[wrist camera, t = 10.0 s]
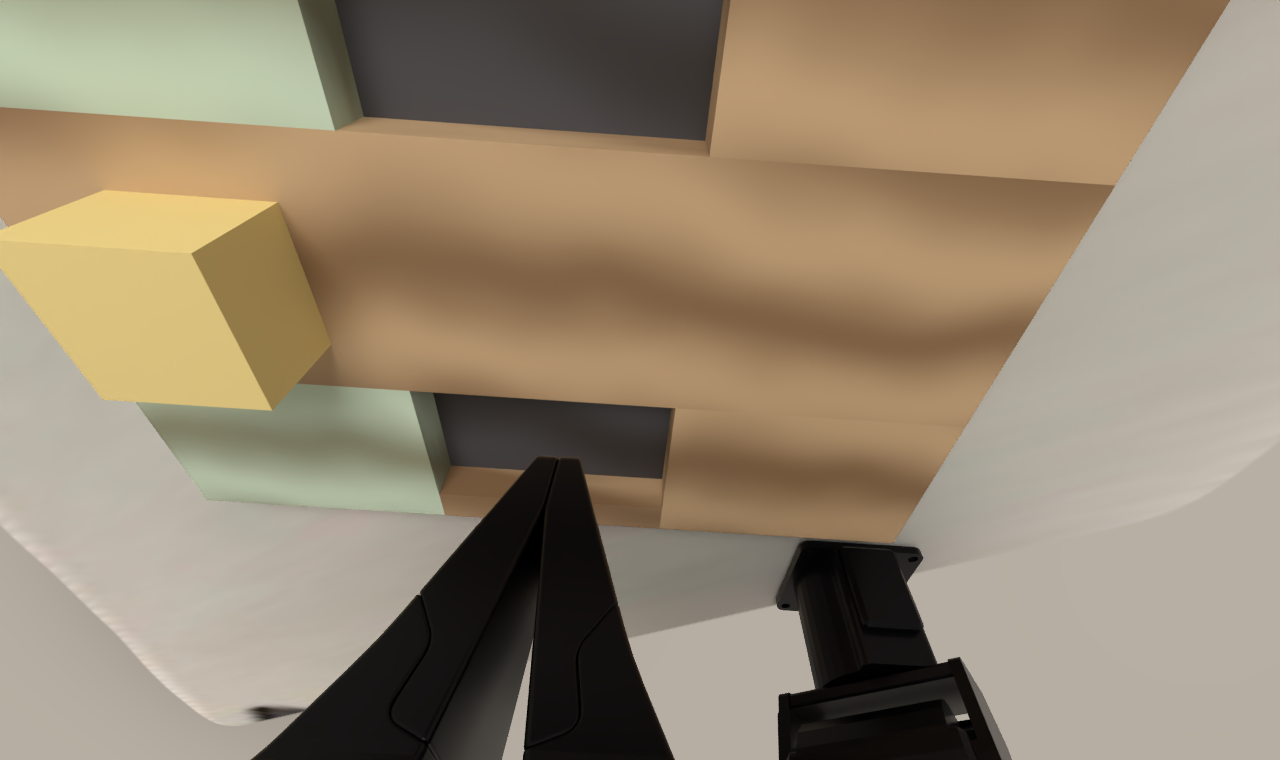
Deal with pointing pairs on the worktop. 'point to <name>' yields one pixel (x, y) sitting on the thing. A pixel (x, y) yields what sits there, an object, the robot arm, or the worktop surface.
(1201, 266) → the worktop surface
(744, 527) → the trap deck
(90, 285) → the mustard block
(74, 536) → the worktop surface
